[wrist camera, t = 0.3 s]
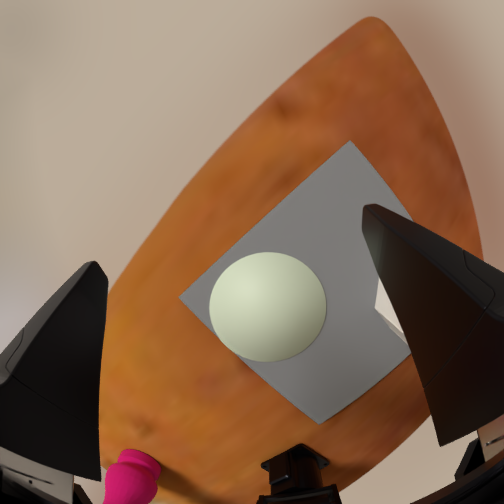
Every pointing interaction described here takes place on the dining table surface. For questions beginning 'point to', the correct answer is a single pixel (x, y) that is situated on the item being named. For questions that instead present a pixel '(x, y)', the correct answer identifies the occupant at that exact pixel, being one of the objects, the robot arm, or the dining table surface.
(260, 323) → the board
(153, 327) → the dining table surface
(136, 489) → the pepper mill
